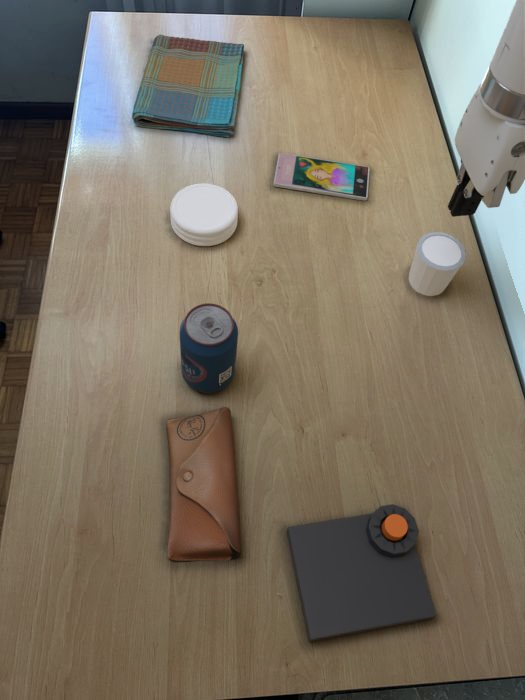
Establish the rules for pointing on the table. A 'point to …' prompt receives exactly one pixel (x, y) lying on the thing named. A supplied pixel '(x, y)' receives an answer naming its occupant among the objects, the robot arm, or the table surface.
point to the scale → (358, 575)
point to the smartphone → (322, 176)
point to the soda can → (208, 347)
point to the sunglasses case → (203, 488)
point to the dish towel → (190, 86)
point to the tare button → (394, 527)
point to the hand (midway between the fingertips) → (460, 210)
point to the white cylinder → (435, 263)
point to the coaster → (204, 214)
